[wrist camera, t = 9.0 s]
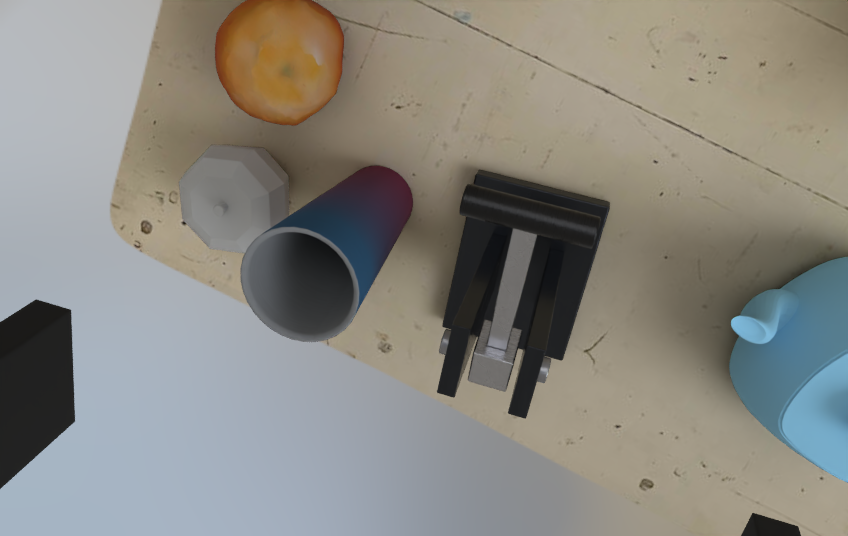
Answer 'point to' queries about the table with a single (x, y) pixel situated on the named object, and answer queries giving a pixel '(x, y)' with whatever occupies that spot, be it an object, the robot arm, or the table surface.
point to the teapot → (799, 364)
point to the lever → (516, 269)
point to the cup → (326, 255)
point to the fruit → (280, 58)
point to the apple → (233, 196)
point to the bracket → (541, 297)
